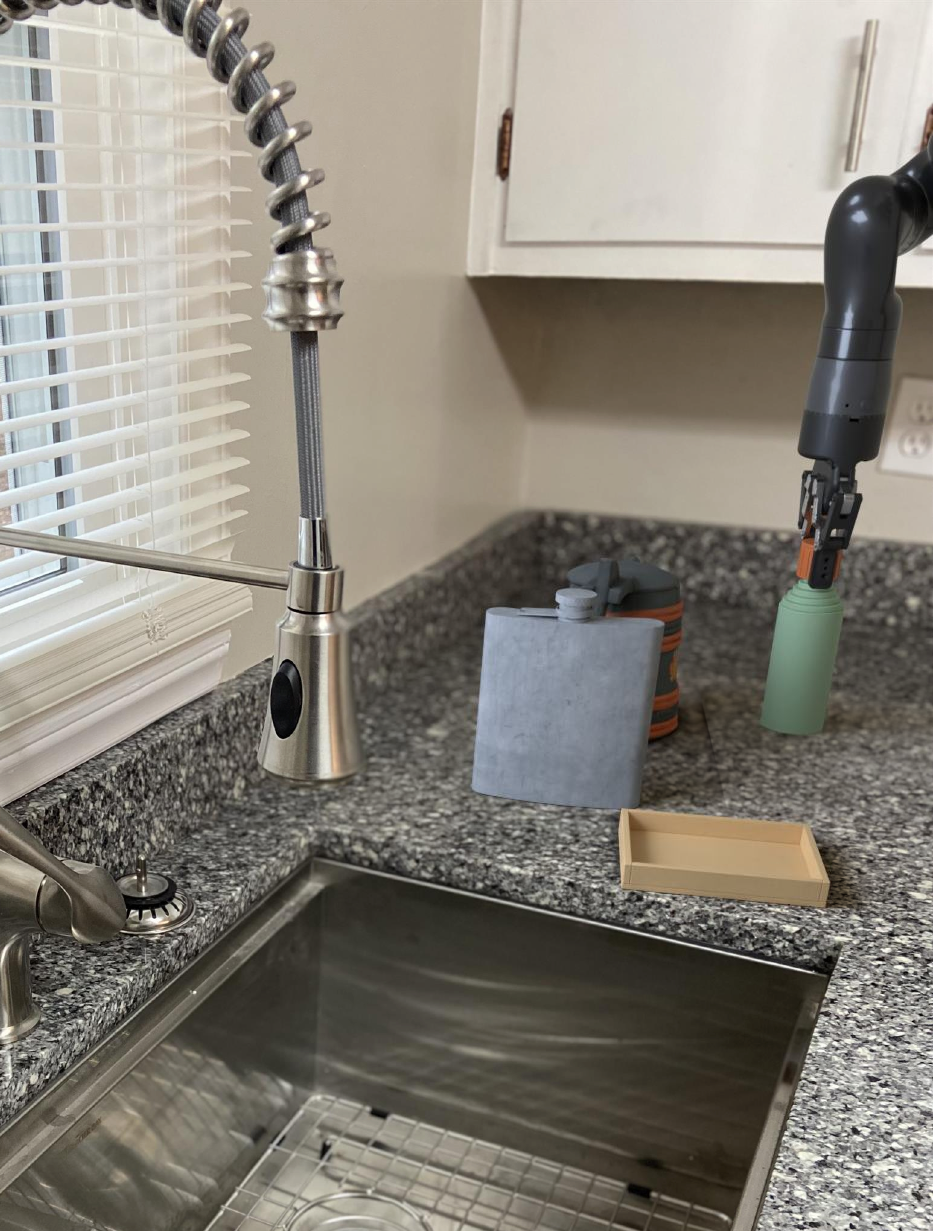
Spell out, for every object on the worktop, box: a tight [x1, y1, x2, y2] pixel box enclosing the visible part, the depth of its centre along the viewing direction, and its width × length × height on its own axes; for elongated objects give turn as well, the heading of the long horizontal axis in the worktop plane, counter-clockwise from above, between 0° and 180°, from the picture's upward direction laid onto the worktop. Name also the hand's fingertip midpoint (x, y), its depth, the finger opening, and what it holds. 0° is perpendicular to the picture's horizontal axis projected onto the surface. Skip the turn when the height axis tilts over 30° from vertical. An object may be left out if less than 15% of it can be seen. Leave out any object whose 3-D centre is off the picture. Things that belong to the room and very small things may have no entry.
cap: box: [795, 538, 844, 581], centre depth 144 cm, size 4×4×4 cm
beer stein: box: [566, 555, 684, 742], centre depth 148 cm, size 19×15×20 cm
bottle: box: [759, 578, 846, 736], centre depth 148 cm, size 6×6×20 cm
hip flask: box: [471, 587, 665, 810], centre depth 131 cm, size 16×4×20 cm, turn 75°
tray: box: [617, 808, 831, 909], centre depth 121 cm, size 16×12×2 cm
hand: (813, 581), depth 145 cm, fingers closed on cap, 4 cm apart
